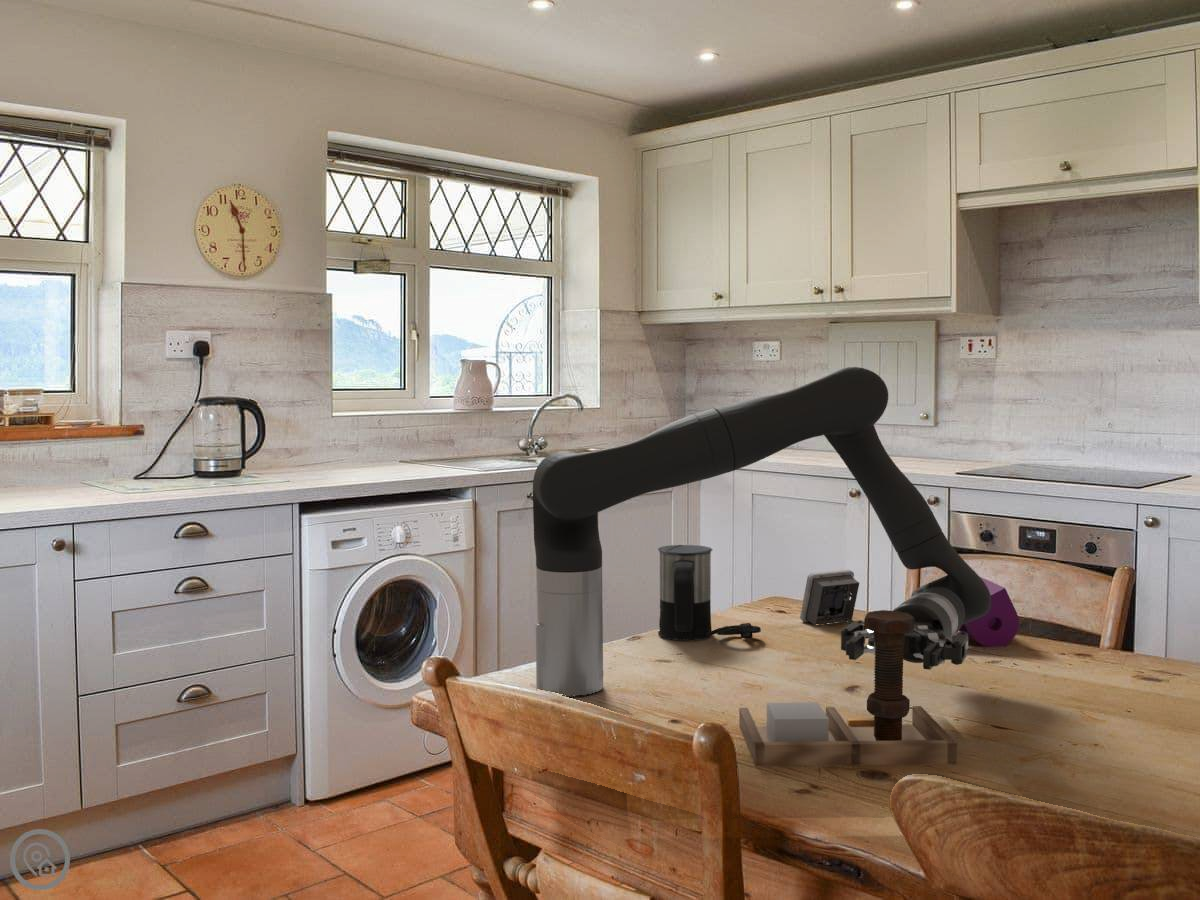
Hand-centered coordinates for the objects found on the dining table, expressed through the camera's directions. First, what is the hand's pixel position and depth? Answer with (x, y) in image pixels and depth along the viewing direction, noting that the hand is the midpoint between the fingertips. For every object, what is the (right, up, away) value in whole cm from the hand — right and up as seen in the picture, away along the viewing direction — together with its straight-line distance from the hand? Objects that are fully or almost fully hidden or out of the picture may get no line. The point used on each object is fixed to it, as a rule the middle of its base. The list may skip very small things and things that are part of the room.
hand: (888, 655), depth 122 cm
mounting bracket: (+24, -8, +53) cm, 59 cm away
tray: (-5, -12, +1) cm, 13 cm away
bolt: (0, -10, +1) cm, 11 cm away
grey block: (-10, -10, +1) cm, 15 cm away
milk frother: (-15, -8, +56) cm, 58 cm away
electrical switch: (+8, -7, +66) cm, 67 cm away
